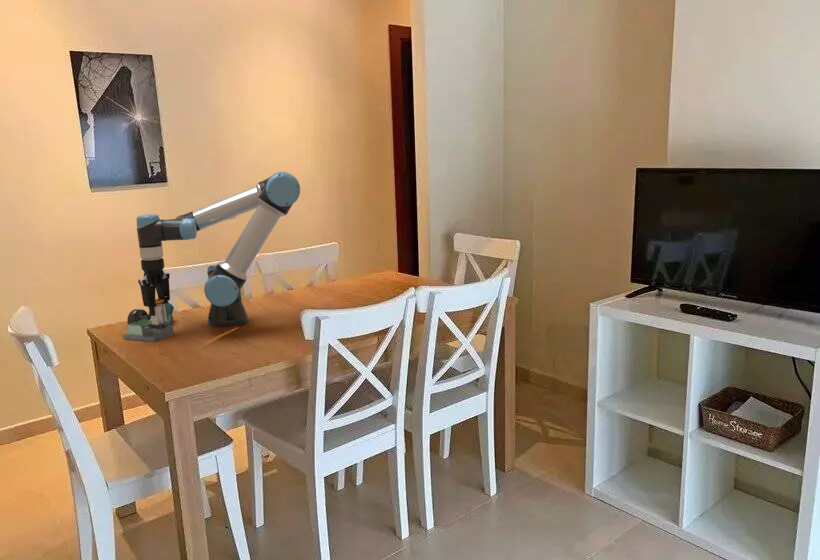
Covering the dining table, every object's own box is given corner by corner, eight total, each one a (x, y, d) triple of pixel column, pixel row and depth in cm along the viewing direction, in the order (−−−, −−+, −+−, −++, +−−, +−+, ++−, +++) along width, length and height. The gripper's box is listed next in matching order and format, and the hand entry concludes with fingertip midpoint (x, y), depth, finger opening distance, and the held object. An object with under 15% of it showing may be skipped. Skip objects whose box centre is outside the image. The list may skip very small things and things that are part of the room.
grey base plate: (174, 334, 233) (172, 320, 232) (154, 341, 224) (153, 328, 223) (143, 331, 238) (142, 318, 237) (123, 339, 229) (121, 325, 228)
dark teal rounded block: (178, 306, 249) (172, 326, 244) (167, 314, 254) (161, 333, 249) (156, 296, 244) (150, 316, 239) (146, 305, 250) (139, 324, 244)
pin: (169, 331, 232) (166, 298, 230) (161, 334, 228) (157, 301, 226) (159, 330, 234) (156, 298, 231) (151, 333, 230) (147, 300, 227)
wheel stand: (153, 329, 241) (151, 307, 240) (138, 334, 234) (135, 312, 232) (140, 328, 244) (138, 306, 242) (125, 333, 236) (122, 311, 235)
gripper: (159, 254, 234) (166, 316, 239) (126, 262, 219) (134, 328, 224) (176, 255, 232) (183, 317, 236) (143, 262, 217) (151, 329, 221)
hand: (159, 322), depth 230 cm, fingers closed on pin, 3 cm apart
